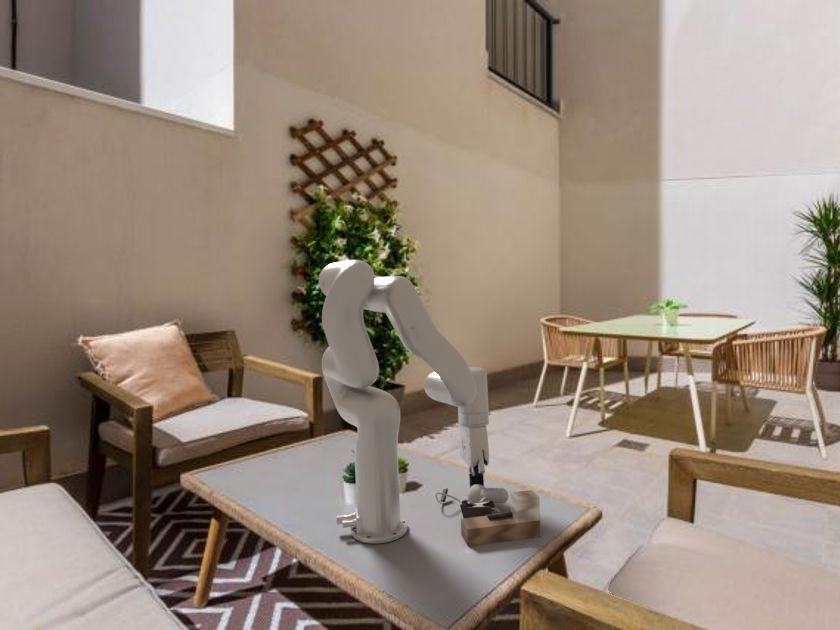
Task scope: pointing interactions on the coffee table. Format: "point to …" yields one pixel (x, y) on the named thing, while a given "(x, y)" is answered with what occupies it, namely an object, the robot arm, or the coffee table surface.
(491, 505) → the clip-on lamp
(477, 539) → the charging dock
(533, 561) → the coffee table surface
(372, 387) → the robot arm
